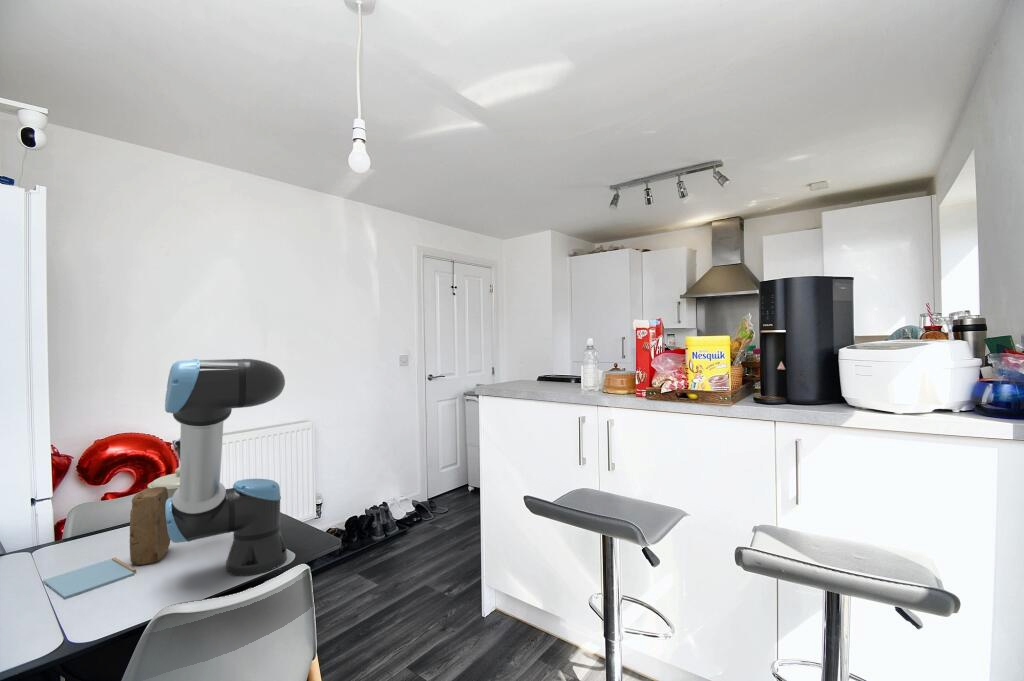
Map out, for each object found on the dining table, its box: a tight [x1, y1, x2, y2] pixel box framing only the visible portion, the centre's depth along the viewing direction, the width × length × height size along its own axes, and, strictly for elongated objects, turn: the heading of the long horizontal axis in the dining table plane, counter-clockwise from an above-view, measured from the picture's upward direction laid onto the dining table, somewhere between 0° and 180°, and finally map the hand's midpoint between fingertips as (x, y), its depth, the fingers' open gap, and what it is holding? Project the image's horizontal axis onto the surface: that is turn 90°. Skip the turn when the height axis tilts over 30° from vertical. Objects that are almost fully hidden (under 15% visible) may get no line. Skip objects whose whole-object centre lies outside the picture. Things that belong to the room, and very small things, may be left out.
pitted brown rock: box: [129, 487, 171, 566], centre depth 136 cm, size 11×8×20 cm
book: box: [42, 557, 137, 600], centre depth 124 cm, size 16×15×1 cm
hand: (196, 490), depth 146 cm, fingers closed
